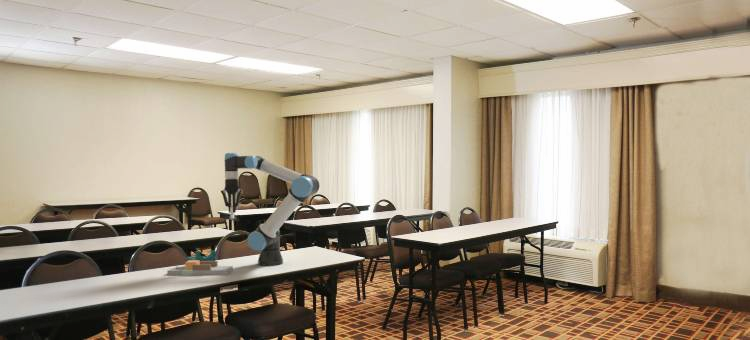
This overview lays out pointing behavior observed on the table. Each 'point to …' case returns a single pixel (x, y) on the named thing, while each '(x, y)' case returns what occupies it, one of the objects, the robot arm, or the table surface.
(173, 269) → the deck
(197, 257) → the teal l-shaped bracket
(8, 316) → the table surface
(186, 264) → the block
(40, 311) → the table surface
